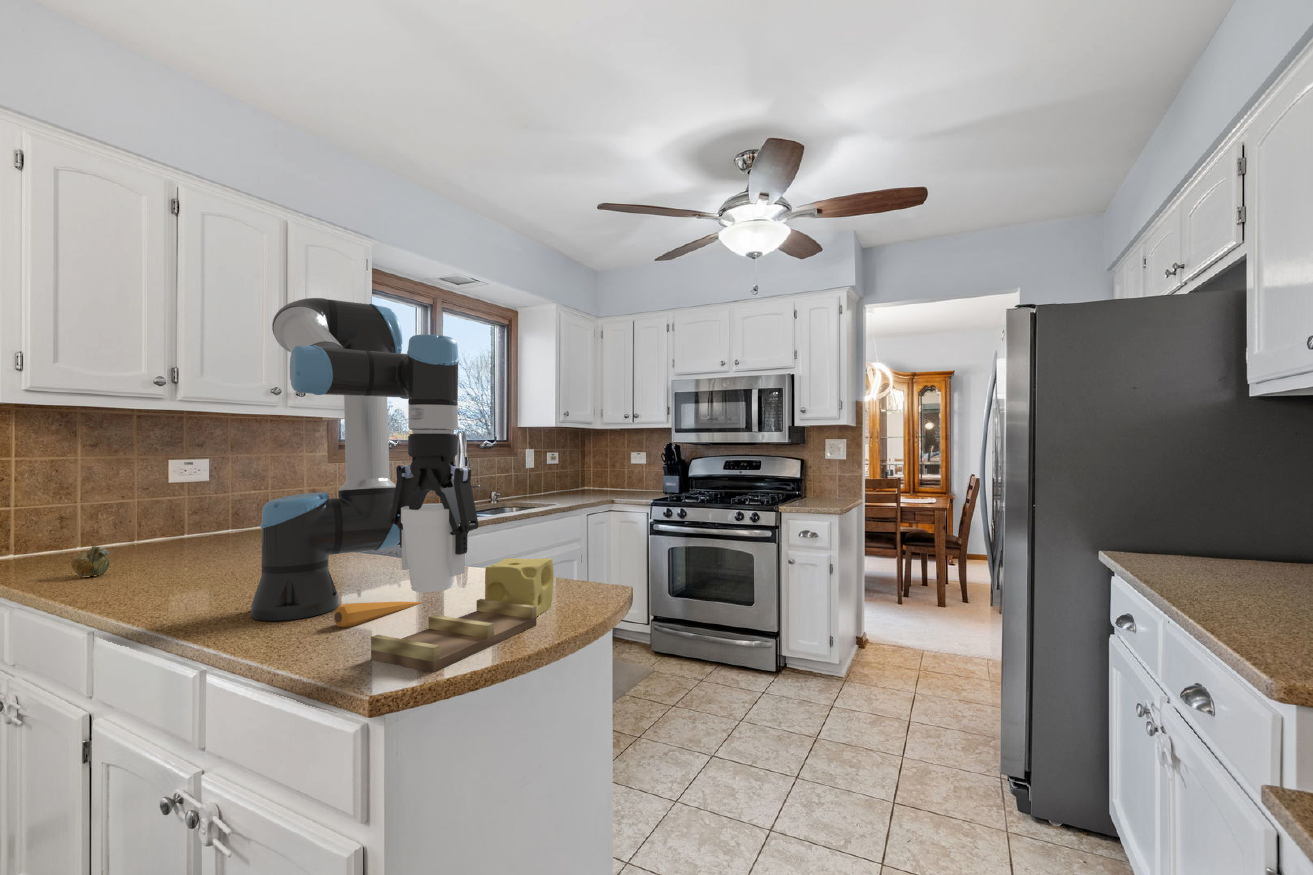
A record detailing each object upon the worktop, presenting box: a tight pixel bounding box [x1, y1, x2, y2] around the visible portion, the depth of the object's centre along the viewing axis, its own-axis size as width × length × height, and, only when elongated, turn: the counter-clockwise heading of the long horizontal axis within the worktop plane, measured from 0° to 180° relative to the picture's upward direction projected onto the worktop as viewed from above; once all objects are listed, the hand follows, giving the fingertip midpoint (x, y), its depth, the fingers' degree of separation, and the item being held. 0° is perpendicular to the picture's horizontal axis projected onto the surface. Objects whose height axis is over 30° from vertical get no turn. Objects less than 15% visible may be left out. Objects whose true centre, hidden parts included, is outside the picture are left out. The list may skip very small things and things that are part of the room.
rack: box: [370, 598, 537, 673], centre depth 103 cm, size 13×25×4 cm, turn 155°
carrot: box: [333, 601, 423, 628], centre depth 119 cm, size 20×4×4 cm, turn 154°
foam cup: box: [401, 502, 460, 593], centre depth 98 cm, size 10×9×13 cm
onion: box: [71, 545, 111, 577], centre depth 156 cm, size 8×8×8 cm
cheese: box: [484, 557, 555, 619], centre depth 121 cm, size 10×11×10 cm
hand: (432, 571), depth 98 cm, fingers closed on foam cup, 9 cm apart
